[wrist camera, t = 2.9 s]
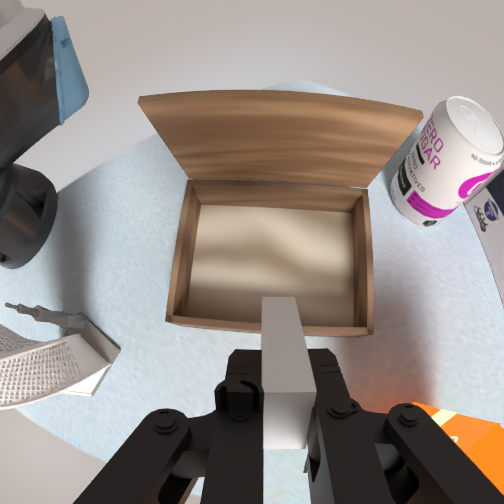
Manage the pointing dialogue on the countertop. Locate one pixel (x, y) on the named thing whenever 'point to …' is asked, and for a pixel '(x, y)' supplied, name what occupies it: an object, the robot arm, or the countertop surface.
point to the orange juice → (475, 441)
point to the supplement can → (447, 161)
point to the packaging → (490, 222)
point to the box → (273, 256)
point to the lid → (279, 134)
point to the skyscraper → (52, 360)
